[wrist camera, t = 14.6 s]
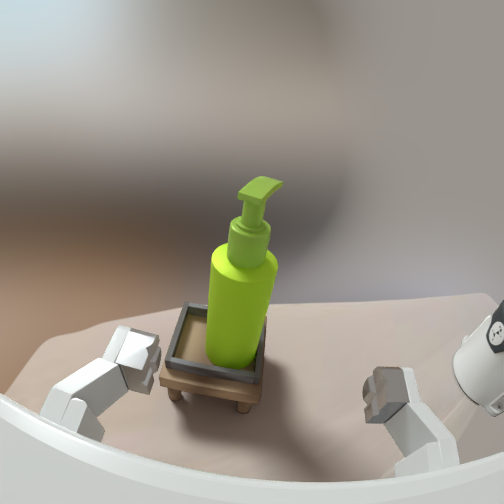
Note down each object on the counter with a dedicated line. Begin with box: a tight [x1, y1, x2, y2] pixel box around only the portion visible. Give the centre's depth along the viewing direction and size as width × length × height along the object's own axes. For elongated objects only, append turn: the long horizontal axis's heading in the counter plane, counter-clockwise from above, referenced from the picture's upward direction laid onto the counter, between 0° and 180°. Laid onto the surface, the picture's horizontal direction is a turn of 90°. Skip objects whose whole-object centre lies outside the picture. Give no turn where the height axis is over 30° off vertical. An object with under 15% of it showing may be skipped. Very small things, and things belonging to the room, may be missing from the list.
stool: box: [159, 302, 267, 414], centre depth 36 cm, size 11×12×8 cm
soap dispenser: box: [205, 176, 283, 370], centre depth 29 cm, size 6×7×20 cm
